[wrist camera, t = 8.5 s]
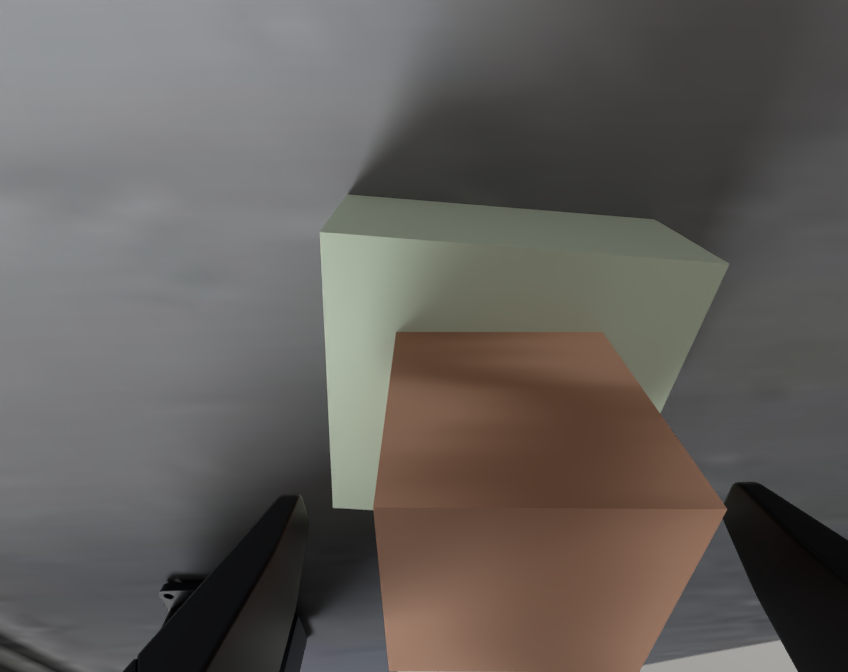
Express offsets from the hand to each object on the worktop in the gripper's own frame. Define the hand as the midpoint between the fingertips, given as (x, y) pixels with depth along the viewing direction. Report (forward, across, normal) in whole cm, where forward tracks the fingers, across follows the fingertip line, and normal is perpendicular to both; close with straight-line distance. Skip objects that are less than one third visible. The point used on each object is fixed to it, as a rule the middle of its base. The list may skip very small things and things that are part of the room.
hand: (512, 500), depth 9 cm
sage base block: (+7, 0, 0) cm, 7 cm away
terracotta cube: (+3, 0, 0) cm, 3 cm away
